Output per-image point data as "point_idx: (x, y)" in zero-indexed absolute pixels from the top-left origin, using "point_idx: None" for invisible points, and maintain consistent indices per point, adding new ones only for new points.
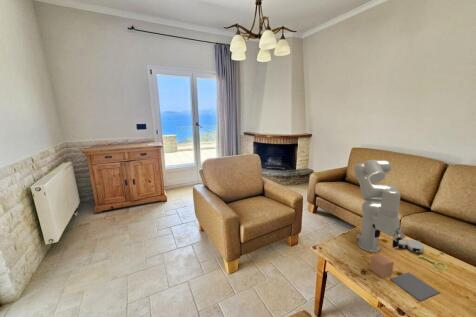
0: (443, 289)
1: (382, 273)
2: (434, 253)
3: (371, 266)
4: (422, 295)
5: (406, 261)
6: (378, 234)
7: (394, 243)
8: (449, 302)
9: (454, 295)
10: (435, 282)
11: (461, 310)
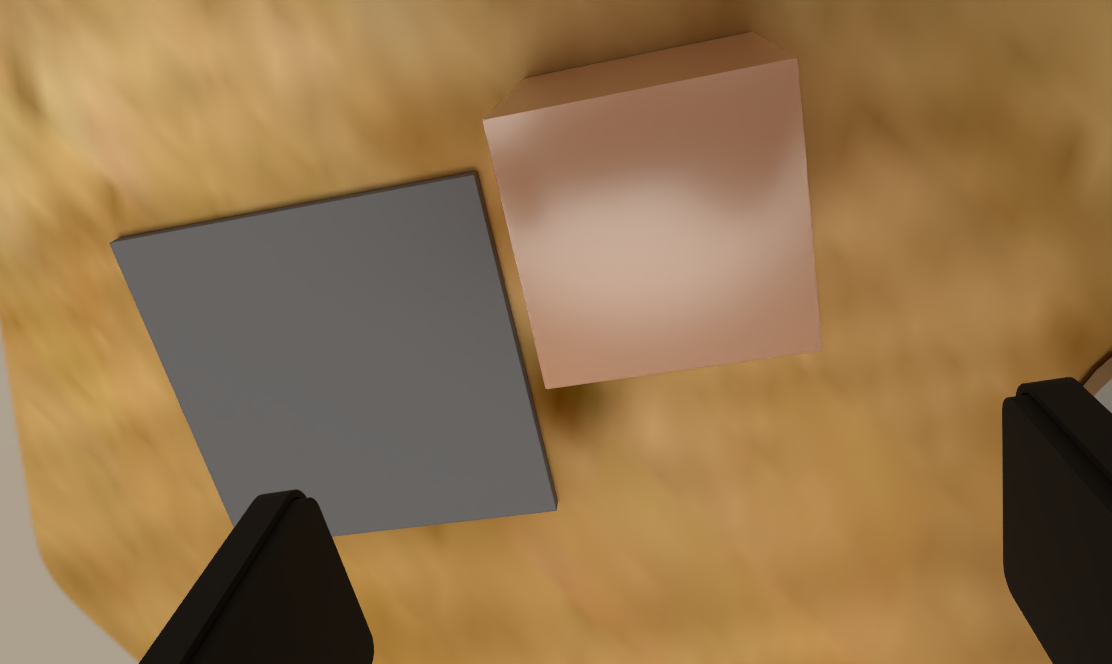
0: None
1: (512, 90)
2: None
3: (724, 45)
4: (187, 336)
5: (746, 650)
6: (1065, 605)
7: (189, 633)
8: (136, 513)
9: None
10: (391, 630)
11: (51, 521)
